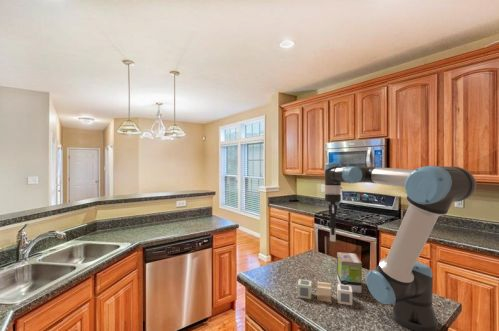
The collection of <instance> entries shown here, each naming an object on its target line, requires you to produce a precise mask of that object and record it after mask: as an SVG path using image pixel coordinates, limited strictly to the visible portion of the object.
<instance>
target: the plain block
mask: <svg viewBox="0 0 499 331" xmlns="http://www.w3.org/2000/svg"><path fill="white" fill-rule="evenodd" d="M316 289H317V292H316V293H317V294H316V295H317V296H316V298H317V301H320V302H327V303H332V283H331V282H324V281H317V286H316Z"/></svg>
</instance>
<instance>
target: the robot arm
mask: <svg viewBox="0 0 499 331" xmlns="http://www.w3.org/2000/svg"><path fill="white" fill-rule="evenodd" d="M342 183H346V184H357V183H358V184H359V183H370V184H376V185H377V184H378V185H385V186H386V185H387V186H392V187H400V188H404V190H405V194H406V195H407V196H406V199H405V200H406V202H407V203H408V207H407V210H406V212H405V214H404V215H403V218H402V221H401V223H400V226H399V228H398V230H397V232H396V235H395V237H394V239H393V242H392V244H391V247H390V249H389V251H388V253H387V256H386V258H385V257H384V258H382V259H380V260H379V263H378V265H377V267H376V269H373V270H370V271H368V272H367V274H366V276H365V277H366V278H365V282H366V286H367V288H368V291H369V293H370V294H371V296H372V297H373V299H375V300H376V301H377V302H379V303H381V304H384V305H394V306H393V308H392V318H393V319H394V321H395V322H397V323H398V324H400V325H401V326H403V327H405V328H406V329H409V330H411V331H438V330H439V320H438V318H437V316H436V312H435V310H434V307H433V279H434V277H433V270H432V268H431V267H430V266H429V265H428V264H426V263H422V262H419V261H418V259H419V257H420V255H421V253H422V251H423V249H424V247H425V245H426V243H427V241H428V239H429V237H430V235H431V233H432V231H433V229H434V226H435V224H436V223H437V221H438V219H439V217H441V216H445V215H447V214H448V211H449V209H450V208H451V206H452V204H453V203H457V202H458V203H459V202H462V201H465V200H467V199H469V198H470V197H471V196H472V195H473V194H474V193H475V192H476V188H477V181H476V178H475V176H474V175H473V174H472V173H471V172H470V171H469V170H468V169H465V168H463V167H459V166H439V165H438V166H437V165H426V166H421V167H418V168H415V169H408V168H406V169H405V168H395V167H394V168H393V167H377V166H351V165H350V166H342V165H341V163H340V162H327V163H325V166H324V201H325V202H327V203H328V202H329V203H330V204H329V205H328V212H329V213H328V214H329V226H328V229H329V241H330V242H334V243H335V242H336V240H337V239H336V238H337V237H336V236H337V234H336V233H337V231H336V228H338V226H337V224H336V223H337V221H336V220H337V218H336V216H337V214H338V212H337V209H338V205H337V204H336V203H341V201H342V199H341V198H342V195H341V192H342V191H341V190H342V189H343V187H342V186H341V185H342Z"/></svg>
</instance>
